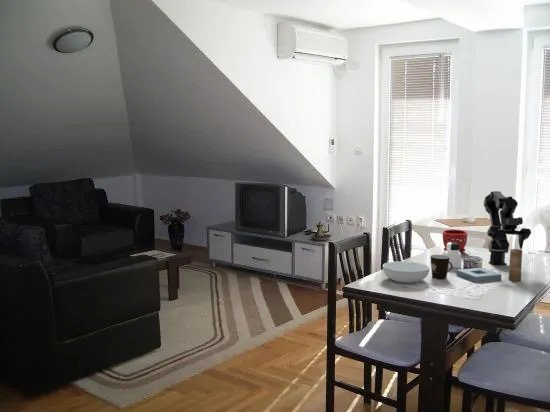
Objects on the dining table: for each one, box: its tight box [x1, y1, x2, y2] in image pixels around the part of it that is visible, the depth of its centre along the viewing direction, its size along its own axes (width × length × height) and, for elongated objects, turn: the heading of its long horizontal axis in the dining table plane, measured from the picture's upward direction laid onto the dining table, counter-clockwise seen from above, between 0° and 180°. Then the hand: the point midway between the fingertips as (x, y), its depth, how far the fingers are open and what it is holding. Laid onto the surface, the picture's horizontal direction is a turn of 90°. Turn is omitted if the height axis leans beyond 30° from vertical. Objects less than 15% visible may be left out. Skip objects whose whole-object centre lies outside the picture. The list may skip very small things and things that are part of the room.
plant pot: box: [442, 229, 468, 254], centre depth 320 cm, size 13×13×12 cm
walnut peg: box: [508, 248, 523, 283], centre depth 259 cm, size 5×5×14 cm
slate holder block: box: [456, 267, 502, 283], centre depth 265 cm, size 14×14×2 cm
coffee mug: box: [430, 254, 453, 280], centre depth 263 cm, size 12×9×10 cm
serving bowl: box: [382, 260, 431, 284], centre depth 260 cm, size 21×21×7 cm
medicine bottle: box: [443, 242, 463, 269], centre depth 287 cm, size 7×7×12 cm
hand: (511, 247), depth 267 cm, fingers open, 9 cm apart
